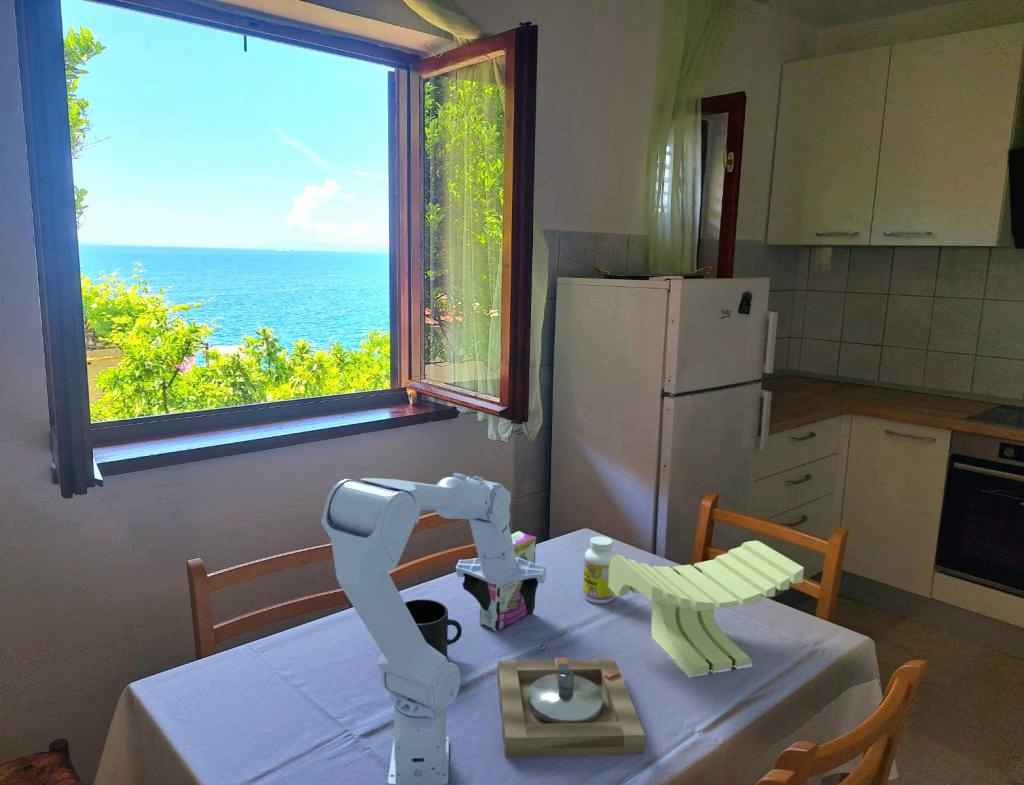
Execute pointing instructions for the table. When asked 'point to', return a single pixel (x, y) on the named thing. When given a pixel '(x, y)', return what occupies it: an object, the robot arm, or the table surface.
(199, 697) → the table surface
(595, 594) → the supplement bottle
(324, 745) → the table surface
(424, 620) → the mug
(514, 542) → the candy bar box
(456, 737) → the table surface
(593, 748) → the board
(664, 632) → the slatted curved stool
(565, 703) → the dial
